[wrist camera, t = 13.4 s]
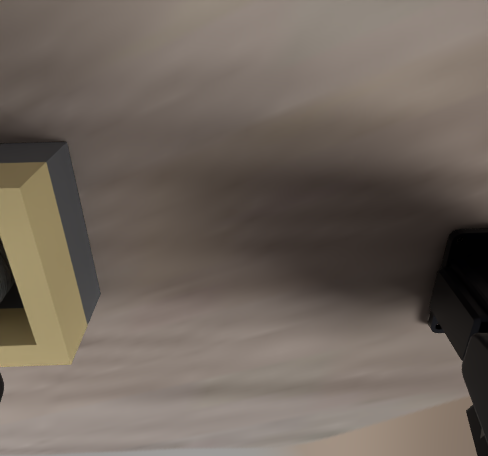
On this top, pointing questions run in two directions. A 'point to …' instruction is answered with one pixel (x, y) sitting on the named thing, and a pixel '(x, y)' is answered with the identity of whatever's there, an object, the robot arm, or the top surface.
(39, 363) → the collar block
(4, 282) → the metal tumbler
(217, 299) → the top surface
